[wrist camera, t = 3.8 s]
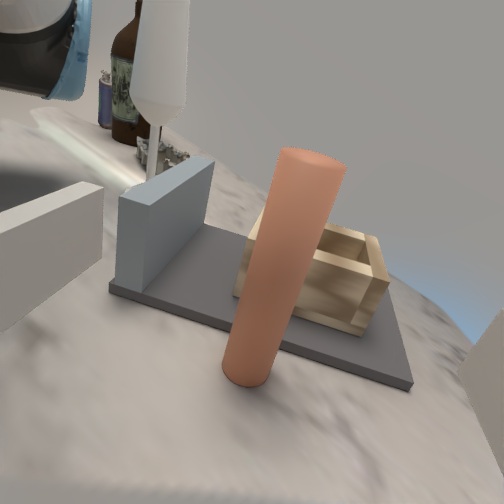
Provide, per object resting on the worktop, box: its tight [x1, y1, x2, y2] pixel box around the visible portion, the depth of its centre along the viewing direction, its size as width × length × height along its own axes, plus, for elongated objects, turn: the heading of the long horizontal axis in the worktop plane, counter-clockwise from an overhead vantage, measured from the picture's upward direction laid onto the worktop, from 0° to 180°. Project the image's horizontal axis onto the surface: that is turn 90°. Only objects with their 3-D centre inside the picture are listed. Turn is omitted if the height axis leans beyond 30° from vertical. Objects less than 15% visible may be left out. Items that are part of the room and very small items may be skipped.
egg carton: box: [137, 136, 190, 175], centre depth 60 cm, size 11×8×4 cm
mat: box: [109, 224, 414, 391], centre depth 35 cm, size 26×16×1 cm, turn 78°
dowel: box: [222, 147, 347, 387], centre depth 22 cm, size 4×4×16 cm
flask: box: [98, 70, 112, 129], centre depth 74 cm, size 9×3×11 cm, turn 24°
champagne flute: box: [124, 0, 190, 193], centre depth 43 cm, size 7×7×24 cm
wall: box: [115, 155, 215, 293], centre depth 34 cm, size 2×16×8 cm, turn 168°
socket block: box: [233, 204, 390, 337], centre depth 33 cm, size 12×9×6 cm
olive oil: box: [111, 0, 162, 146], centre depth 65 cm, size 11×11×25 cm
